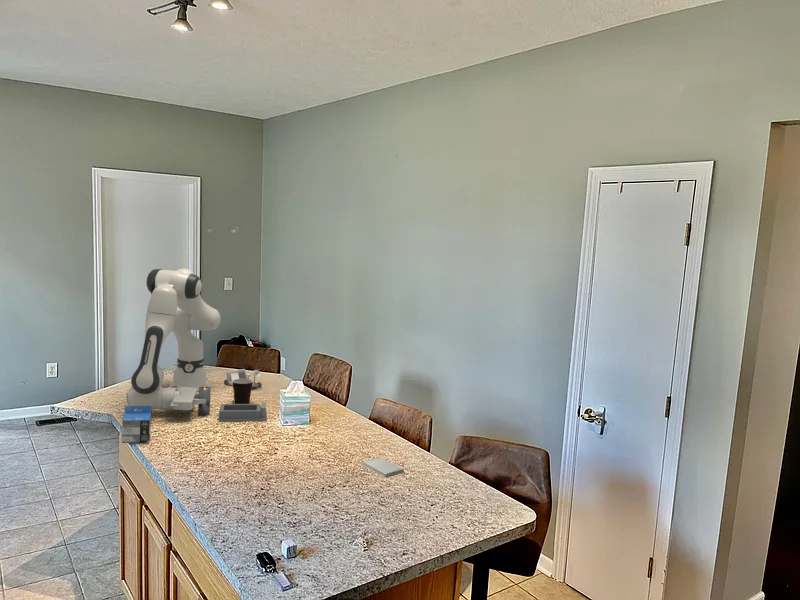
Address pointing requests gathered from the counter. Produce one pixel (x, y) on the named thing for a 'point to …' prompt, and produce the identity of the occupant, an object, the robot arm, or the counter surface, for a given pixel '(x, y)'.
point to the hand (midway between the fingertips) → (206, 398)
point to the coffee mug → (242, 390)
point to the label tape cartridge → (136, 424)
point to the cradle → (242, 412)
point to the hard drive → (382, 466)
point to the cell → (205, 393)
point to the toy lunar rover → (241, 377)
